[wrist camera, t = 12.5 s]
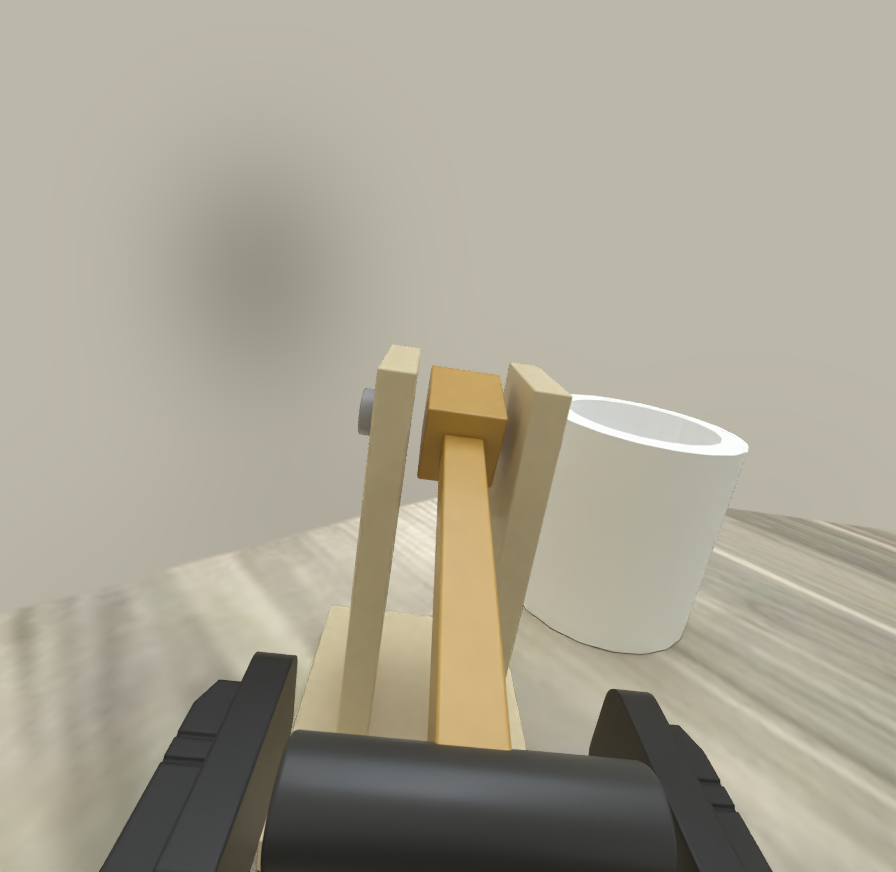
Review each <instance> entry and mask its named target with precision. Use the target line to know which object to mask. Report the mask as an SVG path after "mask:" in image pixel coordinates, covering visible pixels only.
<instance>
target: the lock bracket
mask: <svg viewBox="0 0 896 872" xmlns="http://www.w3.org/2000/svg"><path fill="white" fill-rule="evenodd" d="M420 354H421V350H420V349H419V348H413V347H406V346H399V345H392V346H391V347H390V349H389V351H388V352H387V354H386V356H385V357H384V359H383V361H382V362H381V364H380V366H379V368H378V369H377V376H376V385H375V389H371V388H365V389H364V391H363V394H362V399H361V404H360V411H359V419H358V432H359V434H362V435H369V436H370V439H369V447H368V457H367V465H366V474H365V484H364V492H363V502H362V510H361V518H360V527H359V536H358V545H357V554H356V563H355V572H354V581H353V590H352V598H351V607H342V606H333V605H332V606H331V607H330V610H329V614H328V617H327V620H326V623H325V627H324V630H323V633H322V636H321V640H320V643H319V646H318V649H317V653H316V656H315V659H314V662H313V666H312V669H311V672H310V675H309V678H308V682H307V685H306V688H305V691H304V695H303V698H302V701H301V704H300V708H299V711H298V714H297V717H296V721H295V724H294V727H293V730H292V732H293V731H295V730H298V729H300V730H311V731H322V732H333V733H344V734H355V735H366V736H377V737H388V738H399V739H410V740H421V741H427V737H428V714H429V691H430V668H431V644H432V621H433V616H424V615H415V614H406V613H397V612H387V611H385V608H386V601H387V594H388V586H389V579H390V572H391V565H392V557H393V550H394V543H395V536H396V528H397V521H398V514H399V507H400V498H401V492H402V485H403V477H404V470H405V462H406V456H407V448H408V441H409V434H410V427H411V419H412V412H413V405H414V398H415V389H416V383H417V376H418V368H419V361H420ZM504 400H505V405H506V411H507V416H508V424H507V427H506V431H505V435H504V439H503V443H502V447H501V450H500V454H499V458H498V462H497V466H496V470H495V474H494V477H493V481H492V485H491V487H490V488H488V496H489V507H490V517H491V528H492V539H493V550H494V561H495V572H496V583H497V593H498V604H499V615H500V626H501V637H502V648H503V659H504V669H505V680H506V691H507V702H508V713H509V724H510V734H511V745H512V749H519V750H526V746H525V741H524V736H523V731H522V726H521V721H520V716H519V711H518V706H517V701H516V696H515V691H514V686H513V681H512V676H511V671H510V666H509V663H510V659H511V655H512V650H513V646H514V642H515V638H516V634H517V629H518V625H519V621H520V617H521V612H522V608H523V604H524V600H525V595H526V591H527V587H528V583H529V579H530V574H531V570H532V566H533V562H534V557H535V553H536V549H537V545H538V541H539V536H540V532H541V528H542V524H543V519H544V515H545V511H546V507H547V503H548V498H549V494H550V490H551V486H552V481H553V477H554V473H555V469H556V465H557V460H558V456H559V452H560V449H561V445H562V440H563V435H564V431H565V427H566V422H567V418H568V414H569V410H570V405H571V401H572V395H570V394H569V393H568V392H567V391H566V390H564V389H563V388H562V387H561V386H560V385H559V384H557V383H556V382H555V381H554V380H553V379H551V378H550V377H549V376H548V375H547V374H546V373H545V372H543V371H542V370H541V369H540V368H539V367H537V366H532V365H525V364H518V363H510V364H509V368H508V373H507V378H506V384H505V389H504ZM266 819H267V817H266ZM265 824H266V821H265ZM265 824H264V827H263V830H262V834H261V837H260V840H259V843H258V857H257V870H258V871H261V866H260V861H261V850H262V842H263V835H264V829H265Z"/></svg>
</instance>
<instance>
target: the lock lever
mask: <svg viewBox="0 0 896 872" xmlns="http://www.w3.org/2000/svg"><path fill="white" fill-rule="evenodd" d="M507 424H508V416H507V411H506V405H505V400H504V394H503V389H502V383H501V379H500V376H499V375H493V374H486V373H480V372H473V371H466V370H460V369H453V368H447V367H440V366H432V369H431V375H430V381H429V388H428V394H427V401H426V407H425V414H424V420H423V427H422V436H421V445H420V455H419V465H418V474H417V476H418V478H420V479H427V480H435V481H439V482H438V505H437V528H436V552H435V575H434V598H433V621H432V644H431V668H430V691H429V714H428V737H427V741H421V740H410V739H399V738H388V737H377V736H366V735H355V734H344V733H333V732H322V731H311V730H300V729H298V730H295V731H293V732H292V734H291V736H290V737H289V739H288V741H287V744H286V746H285V749H284V752H283V755H282V758H281V761H280V764H279V768H278V771H277V775H276V779H275V783H274V787H273V791H272V795H271V799H270V804H269V809H268V814H267V819H266V824H265V829H264V835H263V842H262V850H261V861H260V866H261V872H678V850H677V840H676V832H675V827H674V822H673V817H672V813H671V810H670V806H669V803H668V800H667V797H666V794H665V792H664V790H663V787H662V785H661V783H660V781H659V780H658V778H657V776H656V775H655V773H654V772H653V771H652V770H651V768H650V767H649V766H647V765H646V764H644V763H643V762H641V761H638V760H629V759H618V758H607V757H596V756H585V755H574V754H563V753H552V752H541V751H530V750H519V749H512V745H511V734H510V724H509V713H508V702H507V691H506V680H505V669H504V659H503V648H502V637H501V626H500V615H499V604H498V593H497V583H496V572H495V561H494V550H493V539H492V528H491V517H490V507H489V496H488V488H490V487H491V485H492V481H493V477H494V474H495V470H496V466H497V462H498V458H499V454H500V450H501V447H502V443H503V439H504V435H505V431H506V427H507Z"/></svg>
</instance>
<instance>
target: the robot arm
mask: <svg viewBox="0 0 896 872" xmlns="http://www.w3.org/2000/svg"><path fill="white" fill-rule="evenodd" d="M296 674H297V656H296V655H286V654H276V653H266V652H256V653H255V655H254V656H253V658H252V660H251V662H250V664H249V666H248V668H247V671H246V673H245V675H244V677H243V679H242V681H241V682H239V681H228V680H218V681H217V682H216V683H215V684H214V685H213V686H212V687H210V688H209V689H208V690H207V691H206V692H205V693H204V694H203V695H202V696H200V697H199V698H198V699H197V700H196V701H195V702H194V703H193V705H192V707H191V709H190V710H189V712H188V714H187V716H186V718H185V719H184V721H183V723H182V725H181V727H180V728H179V730H178V734H177V736H176V737H174V739H173V741H172V743H171V744H170V746H169V748H168V750H167V752H166V753H165V755H164V759H163V761H162V762H160V764H159V766H158V768H157V769H156V771H155V773H154V775H153V777H152V778H151V780H150V782H149V784H148V786H147V787H146V789H145V791H144V793H143V794H142V796H141V798H140V800H139V802H138V803H137V805H136V807H135V809H134V811H133V812H132V814H131V816H130V818H129V820H128V821H127V823H126V825H125V827H124V828H123V830H122V832H121V834H120V836H119V837H118V839H117V841H116V843H115V845H114V846H113V848H112V850H111V852H110V854H109V855H108V857H107V859H106V861H105V862H104V864H103V866H102V867H101V869H100V871H99V872H250V870H251V866H252V863H253V860H254V856H255V853H256V850H257V847H258V843H259V840H260V837H261V834H262V830H263V827H264V824H265V821H266V817H267V814H268V809H269V804H270V799H271V795H272V791H273V787H274V783H275V779H276V775H277V771H278V768H279V764H280V761H281V758H282V755H283V752H284V749H285V746H286V744H287V741H288V739H289V737H290V734H291V729H292V722H293V713H294V700H295V687H296ZM589 756H596V757H607V758H618V759H629V760H638V761H641V762H643V763H644V764H646V765H647V766H649V767H650V768H651V770H652V771H653V772H654V773H655V775H656V776H657V778H658V780H659V781H660V783H661V785H662V787H663V790H664V792H665V794H666V797H667V800H668V803H669V806H670V810H671V813H672V817H673V822H674V827H675V832H676V840H677V850H678V872H772V870H771V868H770V866H769V865H768V863H767V861H766V859H765V858H764V856H763V854H762V852H761V851H760V849H759V847H758V845H757V844H756V842H755V840H754V838H753V837H752V835H751V833H750V832H749V830H748V828H747V826H746V825H745V823H744V821H743V819H742V818H741V816H740V814H739V812H736V811H735V805H734V804H733V802H732V800H731V798H730V797H729V795H728V793H727V791H726V790H725V788H724V787H722V786H721V784H720V779H719V777H718V776H717V774H716V772H715V770H714V769H713V767H712V765H711V763H710V762H709V760H708V758H707V756H706V755H705V753H704V751H703V750H702V749H701V748H700V747H699V746H698V745H697V744H696V743H695V742H694V741H693V740H692V739H691V737H690V736H689V735H688V734H687V733H686V732H685V731H684V730H683V729H682V728H681V727H680V726H679V725H669V723H668V721H667V720H666V718H665V716H664V714H663V712H662V710H661V708H660V706H659V704H658V703H657V701H656V699H655V698H654V696H653V695H652V694H650V693H648V692H638V691H628V690H618V689H610V690H609V691H608V692H607V694H606V697H605V700H604V703H603V706H602V709H601V712H600V716H599V719H598V722H597V725H596V728H595V731H594V734H593V738H592V741H591V744H590V748H589Z"/></svg>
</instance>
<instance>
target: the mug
mask: <svg viewBox="0 0 896 872" xmlns="http://www.w3.org/2000/svg"><path fill="white" fill-rule="evenodd" d="M570 395H572V401H571V405H570V410H569V414H568V418H567V422H566V427H565V431H564V435H563V440H562V445H561V449H560V452H559V456H558V460H557V465H556V469H555V473H554V477H553V481H552V486H551V490H550V494H549V498H548V503H547V507H546V511H545V515H544V519H543V524H542V528H541V532H540V536H539V541H538V545H537V549H536V553H535V557H534V562H533V566H532V570H531V574H530V579H529V583H528V587H527V591H526V595H525V600H524V604H523V605H524V606H525V608H526V609H527V610H528V611H529V612H531V613H532V614H533V615H535V616H536V617H537V618H539V619H540V620H541V621H543V622H544V623H545V624H546V625H548V626H549V627H550V628H552V629H554V630H556V631H558V632H560V633H562V634H564V635H566V636H568V637H570V638H573V639H575V640H577V641H579V642H581V643H584V644H588V645H591V646H595V647H598V648H602V649H605V650H609V651H612V652H622V653H635V654H647V653H651V652H656V651H661V650H665V649H668V648H669V647H671V646H672V645H673V644H674V643H676V642H677V641H678V640H679V639H681V637H682V634H683V632H684V629H685V626H686V623H687V620H688V618H689V615H690V612H691V609H692V606H693V604H694V601H695V598H696V595H697V592H698V590H699V587H700V584H701V581H702V579H703V576H704V573H705V570H706V567H707V565H708V562H709V559H710V556H711V553H712V551H713V548H714V545H715V542H716V540H717V537H718V534H719V531H720V528H721V526H722V523H723V520H724V517H725V514H726V512H727V509H728V506H729V503H730V500H731V498H732V495H733V492H734V489H735V486H736V484H737V481H738V478H739V475H740V473H741V470H742V467H743V464H744V461H745V458H746V456H747V453H748V444H746V443H745V442H744V441H743V440H742V439H740V438H739V437H738V436H736V435H734V434H732V433H730V432H728V431H726V430H724V429H722V428H720V427H717V426H715V425H712V424H709V423H707V422H704V421H701V420H699V419H696V418H692V417H689V416H686V415H683V414H679V413H676V412H673V411H669V410H665V409H661V408H657V407H653V406H649V405H645V404H640V403H635V402H630V401H625V400H620V399H613V398H606V397H599V396H589V395H575V394H570Z"/></svg>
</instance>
